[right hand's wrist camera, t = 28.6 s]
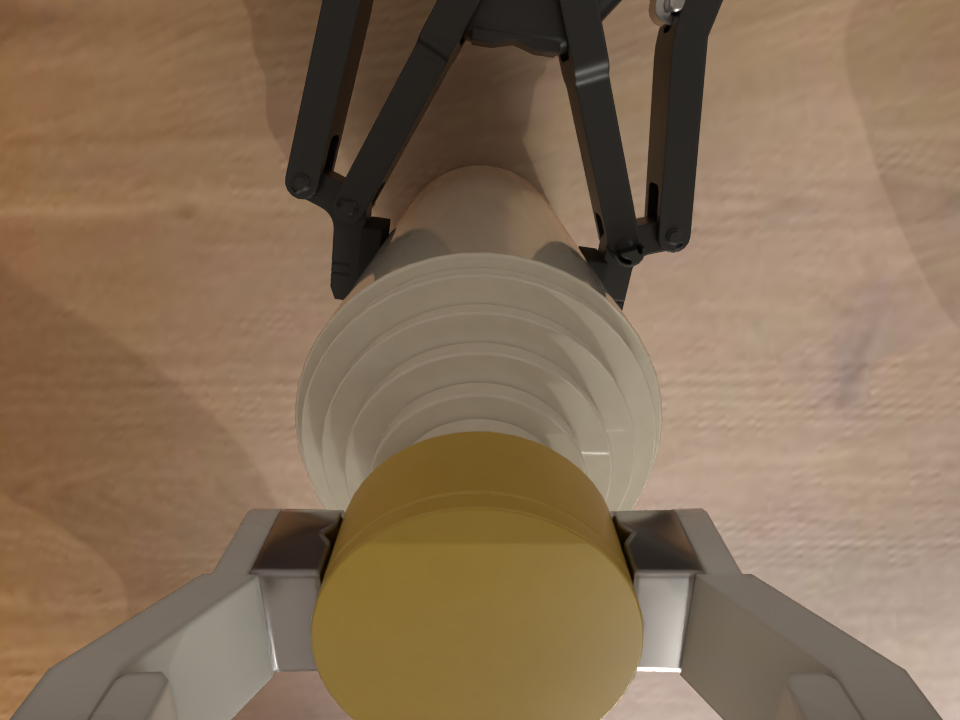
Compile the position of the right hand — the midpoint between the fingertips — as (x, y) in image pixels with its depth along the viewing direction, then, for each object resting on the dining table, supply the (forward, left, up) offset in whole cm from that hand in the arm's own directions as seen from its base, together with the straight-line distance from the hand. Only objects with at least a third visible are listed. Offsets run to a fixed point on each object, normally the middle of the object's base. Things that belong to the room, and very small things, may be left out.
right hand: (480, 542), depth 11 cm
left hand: (-3, -4, -17) cm, 18 cm away
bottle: (0, 0, -23) cm, 23 cm away
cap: (0, 0, +2) cm, 2 cm away
